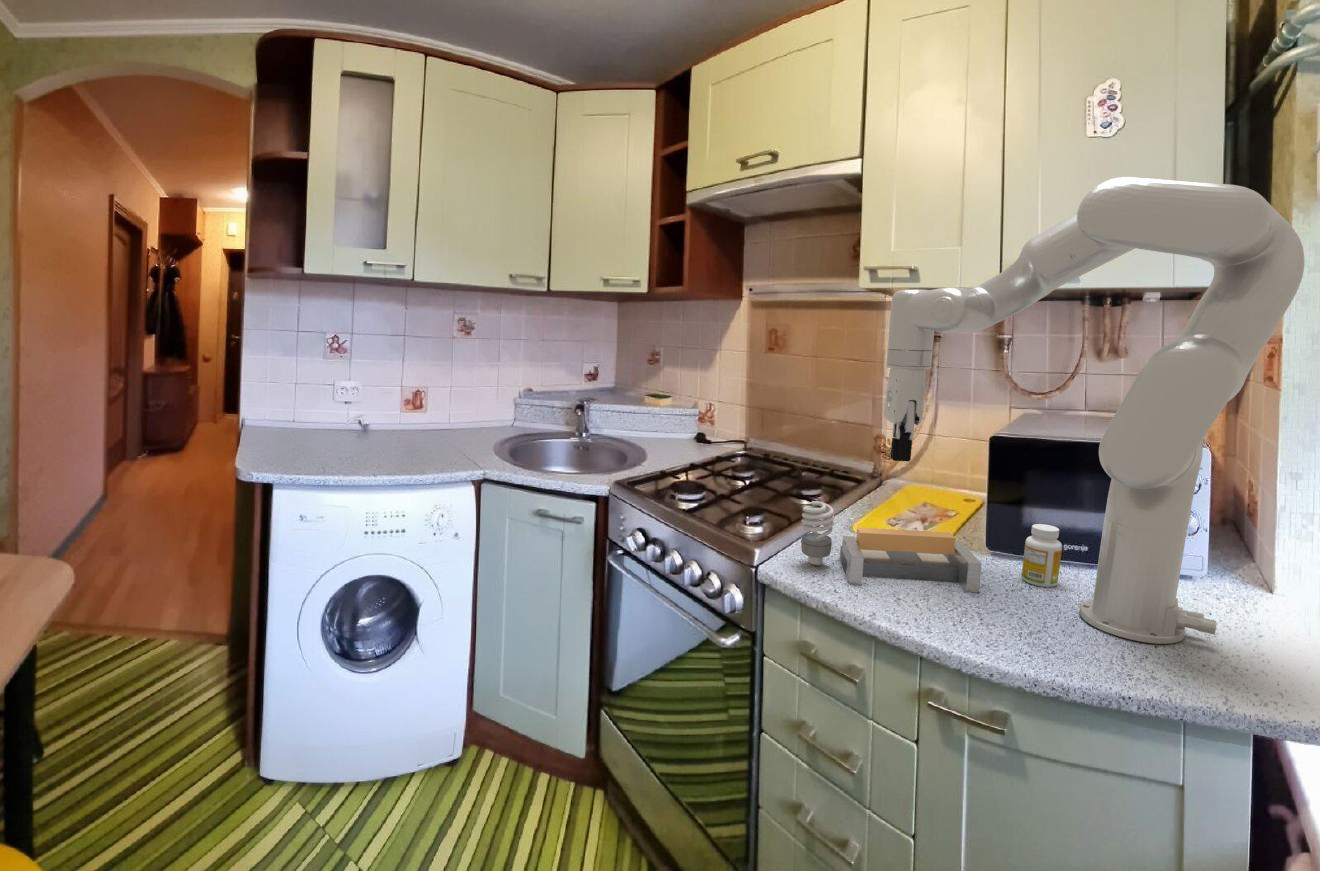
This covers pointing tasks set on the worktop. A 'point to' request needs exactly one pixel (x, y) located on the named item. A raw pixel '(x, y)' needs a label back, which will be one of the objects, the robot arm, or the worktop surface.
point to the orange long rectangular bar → (905, 540)
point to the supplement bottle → (1042, 556)
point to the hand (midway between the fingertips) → (900, 459)
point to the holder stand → (911, 565)
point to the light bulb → (816, 542)
